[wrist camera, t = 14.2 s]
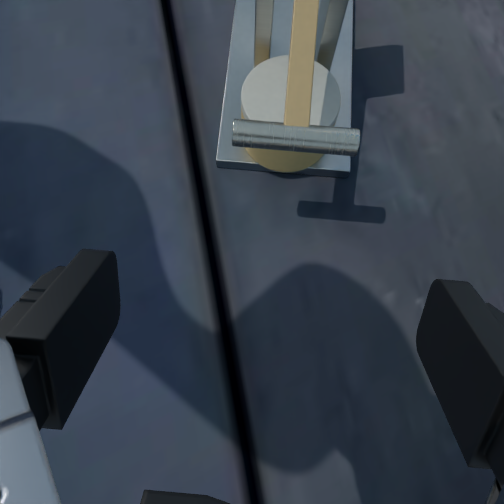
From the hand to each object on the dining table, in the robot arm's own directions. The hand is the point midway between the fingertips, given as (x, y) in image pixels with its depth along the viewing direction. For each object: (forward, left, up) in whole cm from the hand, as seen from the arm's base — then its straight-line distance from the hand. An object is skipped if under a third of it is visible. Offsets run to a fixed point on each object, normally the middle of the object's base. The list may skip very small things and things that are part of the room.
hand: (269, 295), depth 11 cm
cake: (-10, +11, -15) cm, 21 cm away
